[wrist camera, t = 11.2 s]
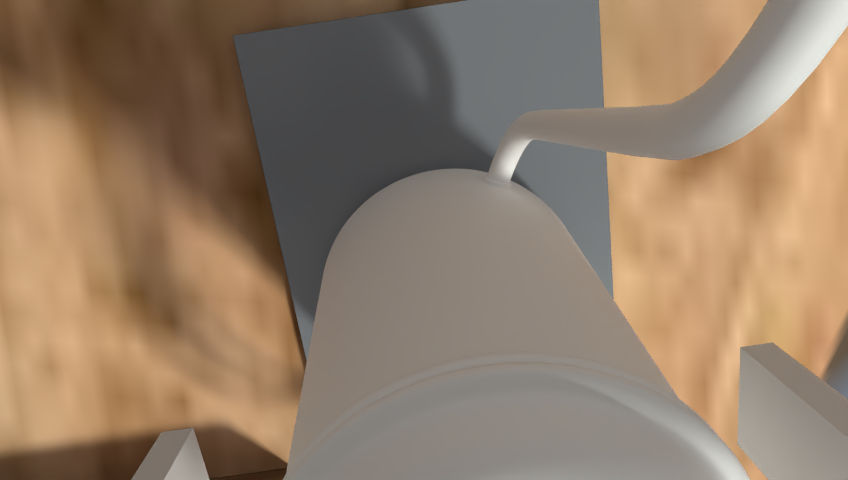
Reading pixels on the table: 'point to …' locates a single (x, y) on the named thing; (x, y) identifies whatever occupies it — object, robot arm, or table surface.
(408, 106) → the trivet
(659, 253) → the table surface
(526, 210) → the coffeepot
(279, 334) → the table surface
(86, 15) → the table surface
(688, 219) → the table surface
